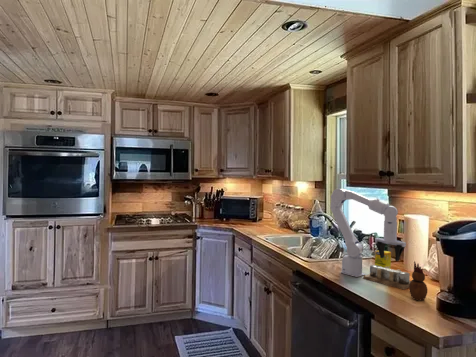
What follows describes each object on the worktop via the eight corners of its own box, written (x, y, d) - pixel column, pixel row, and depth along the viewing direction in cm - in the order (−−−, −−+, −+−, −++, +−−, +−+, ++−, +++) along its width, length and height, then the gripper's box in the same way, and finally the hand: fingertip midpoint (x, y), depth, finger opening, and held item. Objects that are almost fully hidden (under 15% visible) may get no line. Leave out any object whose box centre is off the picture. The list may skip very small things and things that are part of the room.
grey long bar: (367, 275, 172) (368, 265, 172) (372, 273, 174) (373, 264, 174) (406, 285, 157) (406, 275, 157) (411, 283, 159) (411, 273, 159)
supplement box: (374, 272, 182) (374, 251, 182) (379, 270, 186) (379, 249, 186) (385, 274, 178) (386, 253, 177) (390, 272, 182) (391, 251, 182)
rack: (363, 278, 170) (363, 266, 170) (375, 274, 177) (375, 263, 177) (403, 289, 154) (404, 276, 154) (415, 285, 161) (416, 272, 161)
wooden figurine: (406, 296, 145) (407, 260, 145) (419, 296, 146) (420, 260, 146) (415, 302, 139) (416, 264, 138) (429, 302, 139) (430, 264, 139)
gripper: (371, 229, 172) (371, 257, 172) (400, 233, 160) (400, 263, 160) (379, 228, 176) (378, 255, 176) (408, 232, 164) (407, 261, 165)
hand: (389, 259), depth 168 cm, fingers open, 7 cm apart
